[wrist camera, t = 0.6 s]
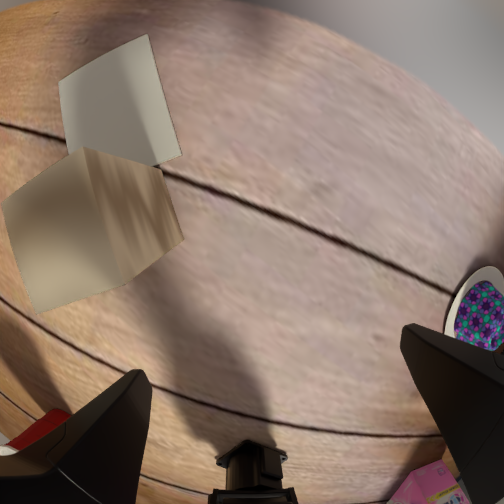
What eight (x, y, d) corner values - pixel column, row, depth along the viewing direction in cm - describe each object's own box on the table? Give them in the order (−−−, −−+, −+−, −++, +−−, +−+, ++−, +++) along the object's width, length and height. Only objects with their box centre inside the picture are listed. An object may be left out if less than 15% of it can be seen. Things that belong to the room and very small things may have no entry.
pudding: (456, 371, 27) (478, 391, 22) (426, 321, 25) (454, 342, 20) (508, 305, 25) (532, 318, 20) (487, 243, 23) (518, 252, 18)
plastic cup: (114, 453, 27) (89, 515, 16) (61, 443, 27) (31, 492, 16) (79, 397, 25) (34, 462, 14) (26, 389, 25) (-17, 437, 14)
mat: (182, 155, 21) (181, 154, 20) (81, 199, 21) (79, 200, 21) (148, 35, 18) (147, 33, 18) (60, 83, 19) (58, 82, 18)
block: (184, 239, 22) (125, 284, 10) (122, 262, 22) (36, 314, 11) (161, 169, 21) (82, 146, 9) (100, 196, 21) (0, 203, 9)
